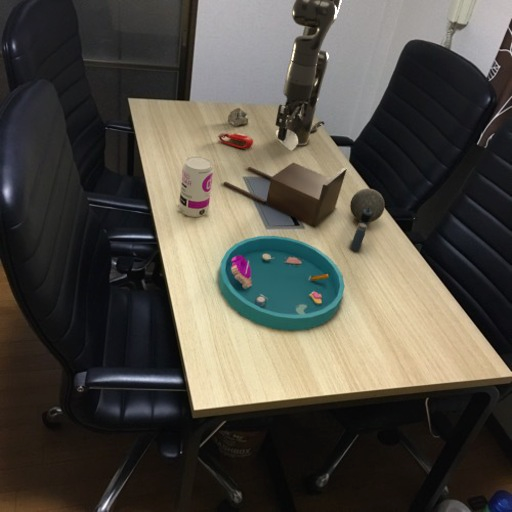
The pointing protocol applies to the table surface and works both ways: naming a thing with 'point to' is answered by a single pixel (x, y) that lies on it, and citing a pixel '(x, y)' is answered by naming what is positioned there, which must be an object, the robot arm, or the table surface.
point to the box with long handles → (300, 192)
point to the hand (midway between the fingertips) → (287, 135)
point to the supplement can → (195, 186)
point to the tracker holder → (237, 137)
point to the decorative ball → (367, 204)
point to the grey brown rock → (237, 117)
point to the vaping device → (361, 230)
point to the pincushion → (289, 139)
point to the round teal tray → (281, 283)
